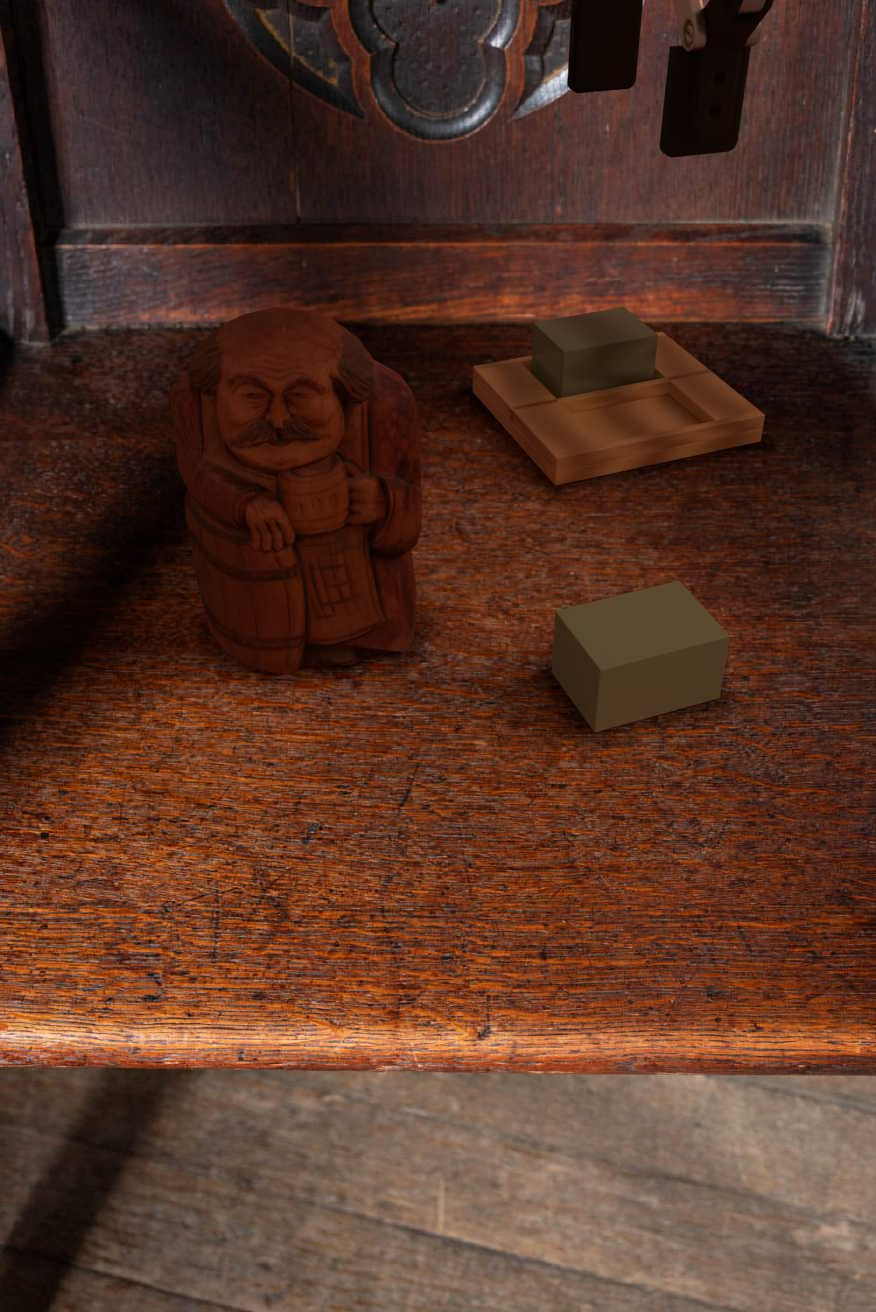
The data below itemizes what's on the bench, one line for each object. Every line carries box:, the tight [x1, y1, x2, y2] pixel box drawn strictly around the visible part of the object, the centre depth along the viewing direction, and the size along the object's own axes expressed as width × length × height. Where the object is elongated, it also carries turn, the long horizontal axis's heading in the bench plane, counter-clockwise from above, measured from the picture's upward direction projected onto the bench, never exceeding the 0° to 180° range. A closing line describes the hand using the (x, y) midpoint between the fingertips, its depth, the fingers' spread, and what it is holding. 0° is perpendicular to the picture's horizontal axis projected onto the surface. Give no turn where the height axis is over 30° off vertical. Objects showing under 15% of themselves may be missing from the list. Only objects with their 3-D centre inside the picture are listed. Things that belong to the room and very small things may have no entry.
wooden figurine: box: [169, 307, 423, 674], centre depth 62 cm, size 12×6×18 cm, turn 98°
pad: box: [551, 580, 731, 733], centre depth 63 cm, size 7×5×4 cm
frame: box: [472, 306, 766, 487], centre depth 85 cm, size 15×14×5 cm
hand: (646, 119), depth 54 cm, fingers open, 9 cm apart
